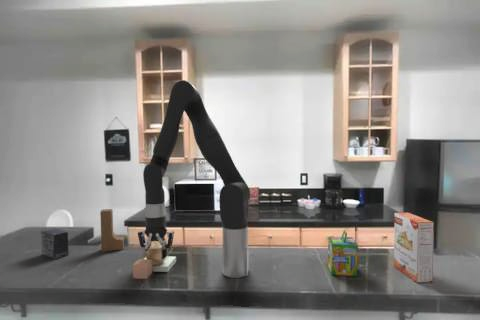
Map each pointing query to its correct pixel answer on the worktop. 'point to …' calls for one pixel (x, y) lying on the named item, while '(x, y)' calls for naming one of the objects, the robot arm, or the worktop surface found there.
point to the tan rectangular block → (155, 253)
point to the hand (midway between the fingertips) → (156, 257)
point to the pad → (164, 264)
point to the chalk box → (342, 255)
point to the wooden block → (109, 232)
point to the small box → (54, 243)
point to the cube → (142, 268)
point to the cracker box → (414, 246)
